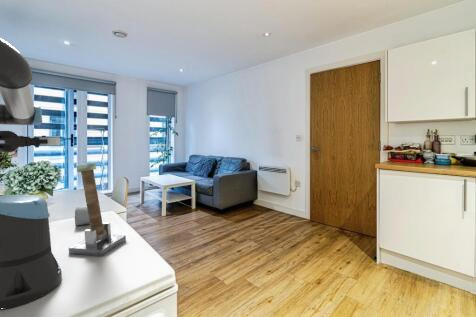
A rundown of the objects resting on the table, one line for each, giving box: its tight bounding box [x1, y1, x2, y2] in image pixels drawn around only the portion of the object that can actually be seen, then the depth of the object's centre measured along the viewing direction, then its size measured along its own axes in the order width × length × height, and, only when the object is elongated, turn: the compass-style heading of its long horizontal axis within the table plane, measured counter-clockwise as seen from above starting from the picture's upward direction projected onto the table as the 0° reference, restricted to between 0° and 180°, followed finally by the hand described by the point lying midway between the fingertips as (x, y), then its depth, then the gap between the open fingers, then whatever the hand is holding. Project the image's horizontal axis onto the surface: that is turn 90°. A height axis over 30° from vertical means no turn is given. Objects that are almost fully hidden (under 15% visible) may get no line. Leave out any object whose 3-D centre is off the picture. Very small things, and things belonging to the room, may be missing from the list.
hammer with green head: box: [76, 163, 107, 241], centre depth 83 cm, size 5×4×26 cm
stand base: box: [68, 221, 127, 257], centre depth 84 cm, size 12×12×7 cm
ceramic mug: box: [74, 206, 90, 226], centre depth 109 cm, size 11×8×8 cm
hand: (58, 141), depth 82 cm, fingers closed
